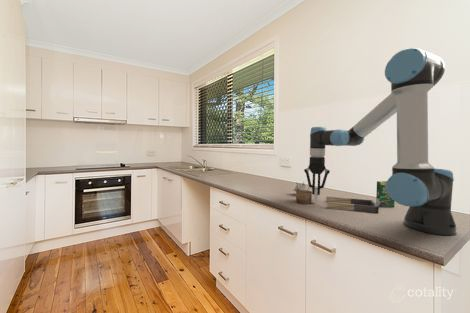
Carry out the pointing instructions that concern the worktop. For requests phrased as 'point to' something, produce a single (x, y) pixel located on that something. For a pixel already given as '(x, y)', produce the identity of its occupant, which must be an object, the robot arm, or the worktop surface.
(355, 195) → the worktop surface
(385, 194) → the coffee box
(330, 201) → the channel
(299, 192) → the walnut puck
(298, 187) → the grey succulent plant
